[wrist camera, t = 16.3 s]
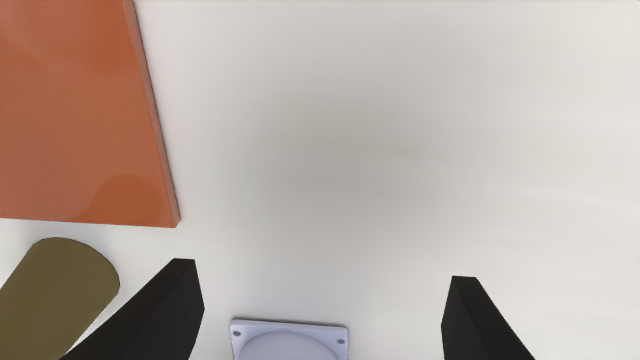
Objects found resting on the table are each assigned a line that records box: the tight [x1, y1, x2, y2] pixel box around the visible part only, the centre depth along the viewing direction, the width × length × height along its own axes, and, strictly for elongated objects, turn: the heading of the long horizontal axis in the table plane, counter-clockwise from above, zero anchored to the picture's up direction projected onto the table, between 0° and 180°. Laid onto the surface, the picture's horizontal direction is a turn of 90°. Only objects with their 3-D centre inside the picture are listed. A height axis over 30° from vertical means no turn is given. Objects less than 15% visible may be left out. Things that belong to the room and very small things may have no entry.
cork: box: [0, 238, 120, 360], centre depth 23 cm, size 6×6×11 cm
